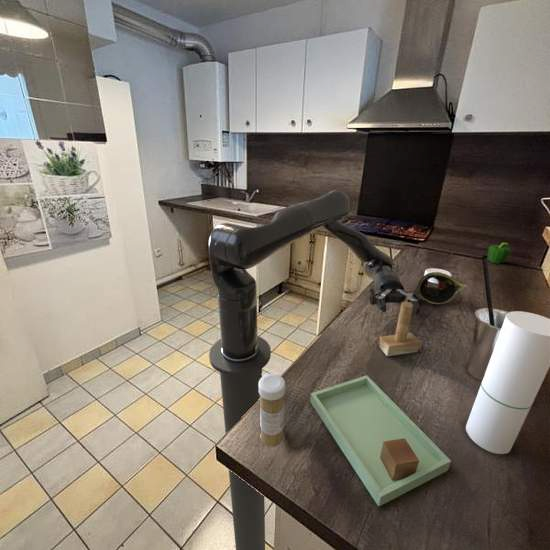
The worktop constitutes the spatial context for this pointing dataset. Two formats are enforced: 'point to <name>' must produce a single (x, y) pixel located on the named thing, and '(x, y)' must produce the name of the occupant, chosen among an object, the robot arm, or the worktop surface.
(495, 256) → the bell pepper
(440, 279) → the pot
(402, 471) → the cork cube
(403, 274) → the worktop surface
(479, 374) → the glass
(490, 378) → the cylindrical container
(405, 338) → the wooden stamp
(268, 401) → the sprinkles bottle
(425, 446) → the tray
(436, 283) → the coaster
